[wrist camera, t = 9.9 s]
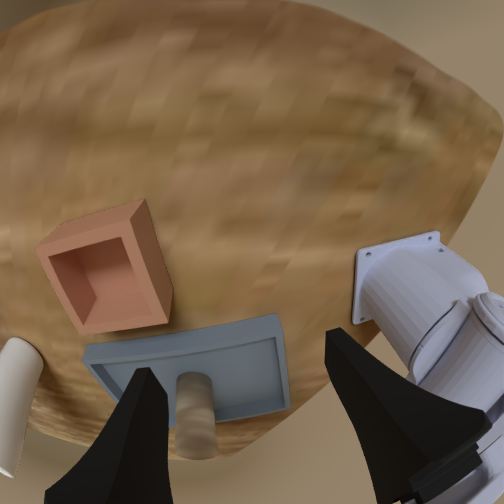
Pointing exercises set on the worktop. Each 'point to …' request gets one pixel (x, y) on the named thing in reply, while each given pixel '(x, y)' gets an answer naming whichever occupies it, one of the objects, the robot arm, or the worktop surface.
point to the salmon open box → (109, 270)
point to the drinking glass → (16, 398)
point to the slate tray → (205, 365)
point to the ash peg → (195, 417)
